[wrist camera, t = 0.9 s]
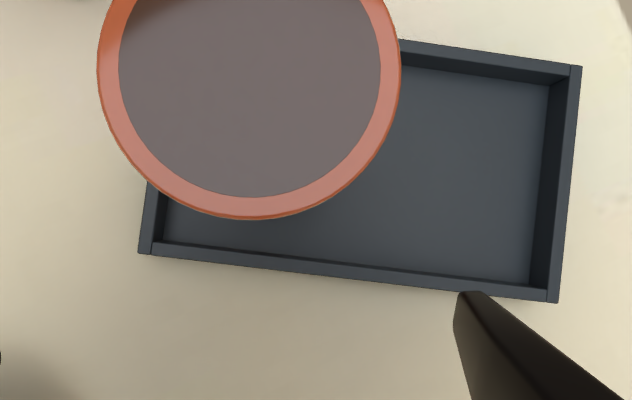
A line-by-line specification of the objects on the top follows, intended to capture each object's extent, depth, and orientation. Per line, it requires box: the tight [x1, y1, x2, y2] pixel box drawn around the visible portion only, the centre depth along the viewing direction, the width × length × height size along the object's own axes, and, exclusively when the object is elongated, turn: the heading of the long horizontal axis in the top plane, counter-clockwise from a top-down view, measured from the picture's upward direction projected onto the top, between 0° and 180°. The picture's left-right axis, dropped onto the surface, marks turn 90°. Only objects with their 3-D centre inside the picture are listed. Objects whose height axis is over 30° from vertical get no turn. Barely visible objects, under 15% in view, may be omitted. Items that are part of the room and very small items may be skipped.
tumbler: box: [96, 0, 402, 220], centre depth 17 cm, size 7×7×13 cm
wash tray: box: [137, 39, 583, 304], centre depth 23 cm, size 19×11×2 cm, turn 83°
